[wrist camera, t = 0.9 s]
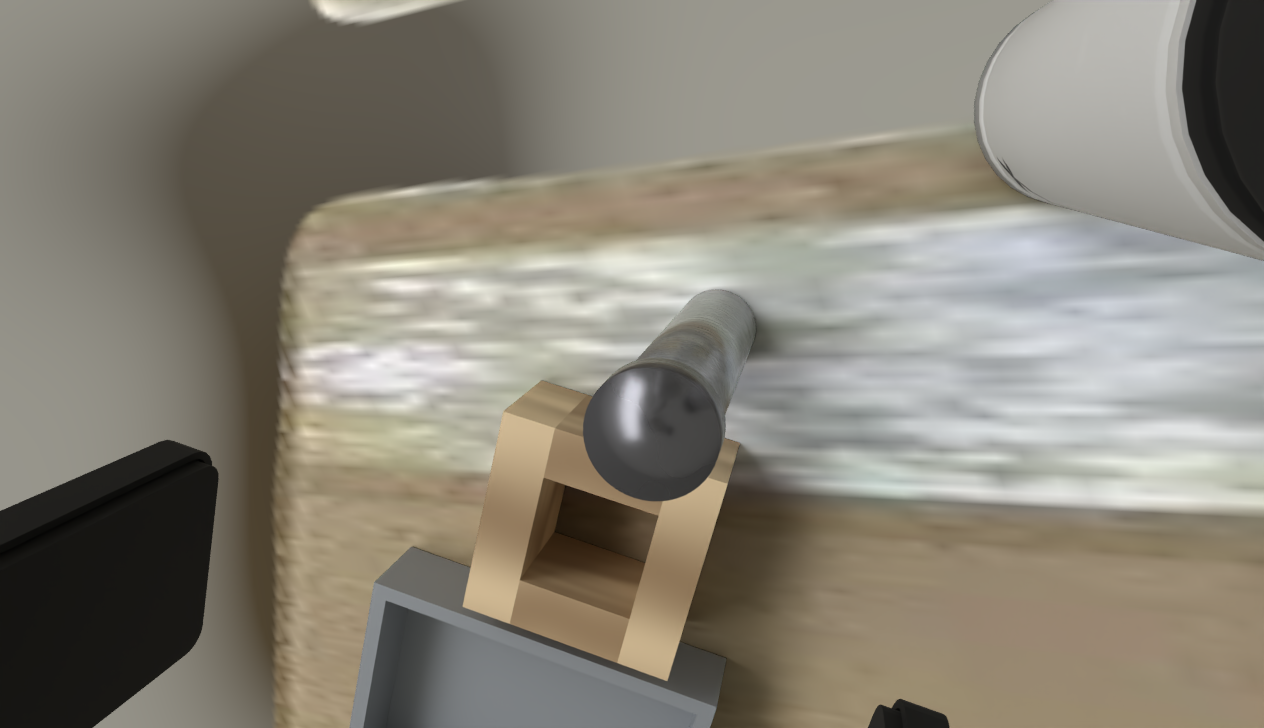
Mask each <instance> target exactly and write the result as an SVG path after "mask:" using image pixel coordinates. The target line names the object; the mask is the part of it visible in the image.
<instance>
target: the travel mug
mask: <svg viewBox="0 0 1264 728" xmlns="http://www.w3.org/2000/svg"><path fill="white" fill-rule="evenodd" d="M974 124H975V129H976V134H977V139H978V143H979V145H980V147H981V150H982V152H983V154H984V157H985V159H986V160H987V162H988V163H989V165H990V166H991V167H992V169H993V170H994V171H995V173H996V174H997V175H998V176H999V177H1000V178H1001V179H1002V180H1003V181H1005V182H1006V183H1007V184H1008V185H1009V186H1010V187H1011V188H1013V189H1015V190H1017V191H1019V192H1020V193H1022V194H1024V195H1026V196H1027V197H1030V198H1033V199H1036V200H1039V201H1042V202H1045V203H1049V204H1053V205H1057V206H1060V207H1064V208H1068V209H1071V210H1075V211H1079V212H1083V213H1086V214H1090V215H1094V216H1098V217H1101V218H1105V219H1109V220H1113V221H1117V222H1120V223H1124V224H1128V225H1132V226H1135V227H1139V228H1143V229H1147V230H1150V231H1154V232H1158V233H1162V234H1165V235H1169V236H1173V237H1177V238H1180V239H1184V240H1188V241H1192V242H1195V243H1199V244H1203V245H1207V246H1210V247H1214V248H1218V249H1222V250H1225V251H1229V252H1233V253H1237V254H1240V255H1244V256H1248V257H1252V258H1255V259H1259V260H1263V261H1264V0H1052V1H1051V2H1049V3H1047V4H1046V5H1045V6H1043V7H1042V8H1040V9H1038V10H1037V11H1036V12H1034V13H1032V14H1031V15H1030V16H1028V17H1027V18H1026V19H1024V20H1023V21H1022V22H1020V23H1019V24H1018V25H1016V26H1015V27H1014V28H1013V29H1012V30H1011V31H1010V33H1008V35H1007V36H1006V37H1005V38H1004V39H1003V40H1002V41H1001V42H1000V43H999V44H998V46H997V48H996V49H995V51H994V52H993V54H992V55H991V57H990V58H989V60H988V62H987V64H986V66H985V68H984V71H983V73H982V75H981V78H980V80H979V83H978V88H977V93H976V97H975V103H974Z"/></svg>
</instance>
